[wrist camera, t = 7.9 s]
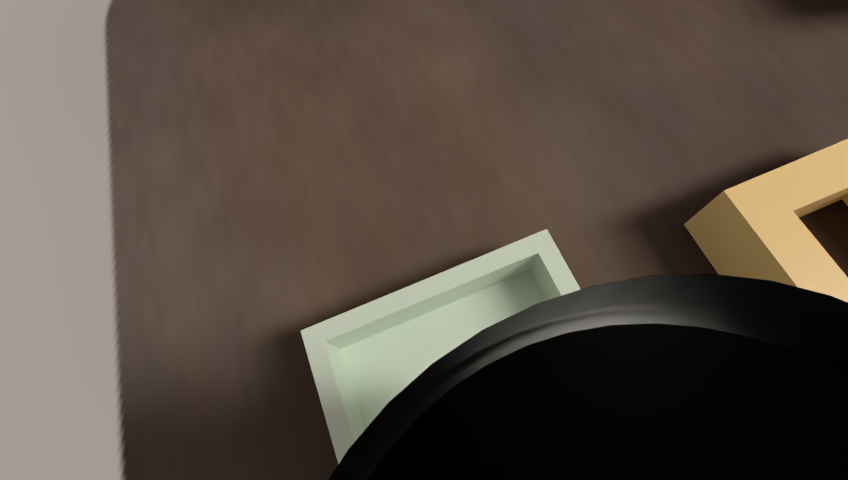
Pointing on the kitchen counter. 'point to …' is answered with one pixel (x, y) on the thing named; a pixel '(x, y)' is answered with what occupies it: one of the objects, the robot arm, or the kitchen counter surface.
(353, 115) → the kitchen counter surface
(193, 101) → the kitchen counter surface
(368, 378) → the parts tray
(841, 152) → the tan square frame
